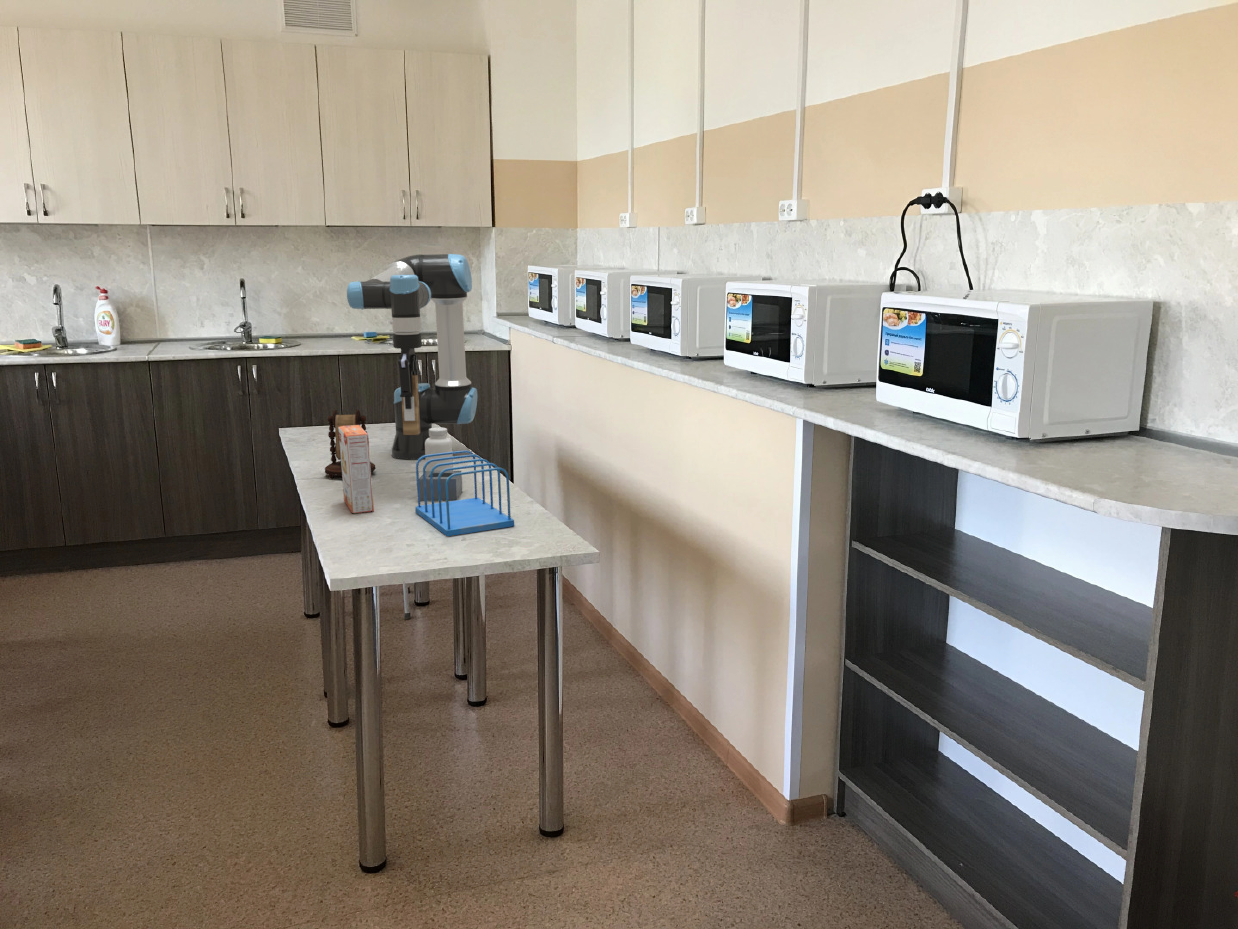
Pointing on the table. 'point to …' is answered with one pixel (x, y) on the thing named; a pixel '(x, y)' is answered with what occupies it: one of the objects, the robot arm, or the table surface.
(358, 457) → the cracker box
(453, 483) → the grey square sleeve
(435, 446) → the pill bottle
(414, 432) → the long wooden beam
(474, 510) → the file sorter
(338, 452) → the scroll
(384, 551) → the table surface
